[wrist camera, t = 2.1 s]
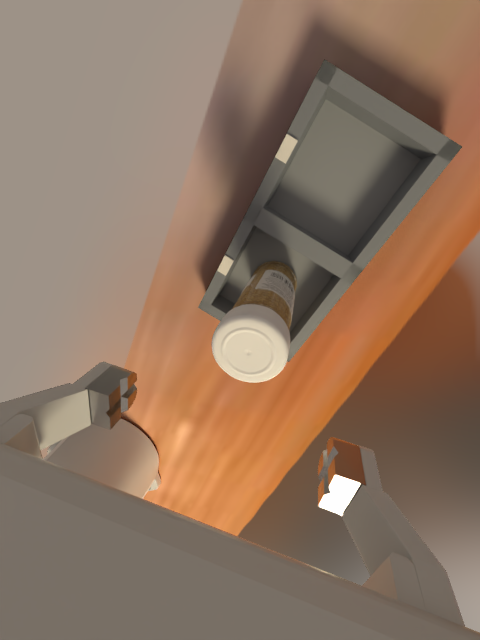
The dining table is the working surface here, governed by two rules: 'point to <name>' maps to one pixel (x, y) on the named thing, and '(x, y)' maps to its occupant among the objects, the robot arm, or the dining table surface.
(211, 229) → the dining table surface
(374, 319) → the dining table surface
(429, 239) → the dining table surface
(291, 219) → the grey divided tray
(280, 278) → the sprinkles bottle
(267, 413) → the dining table surface
